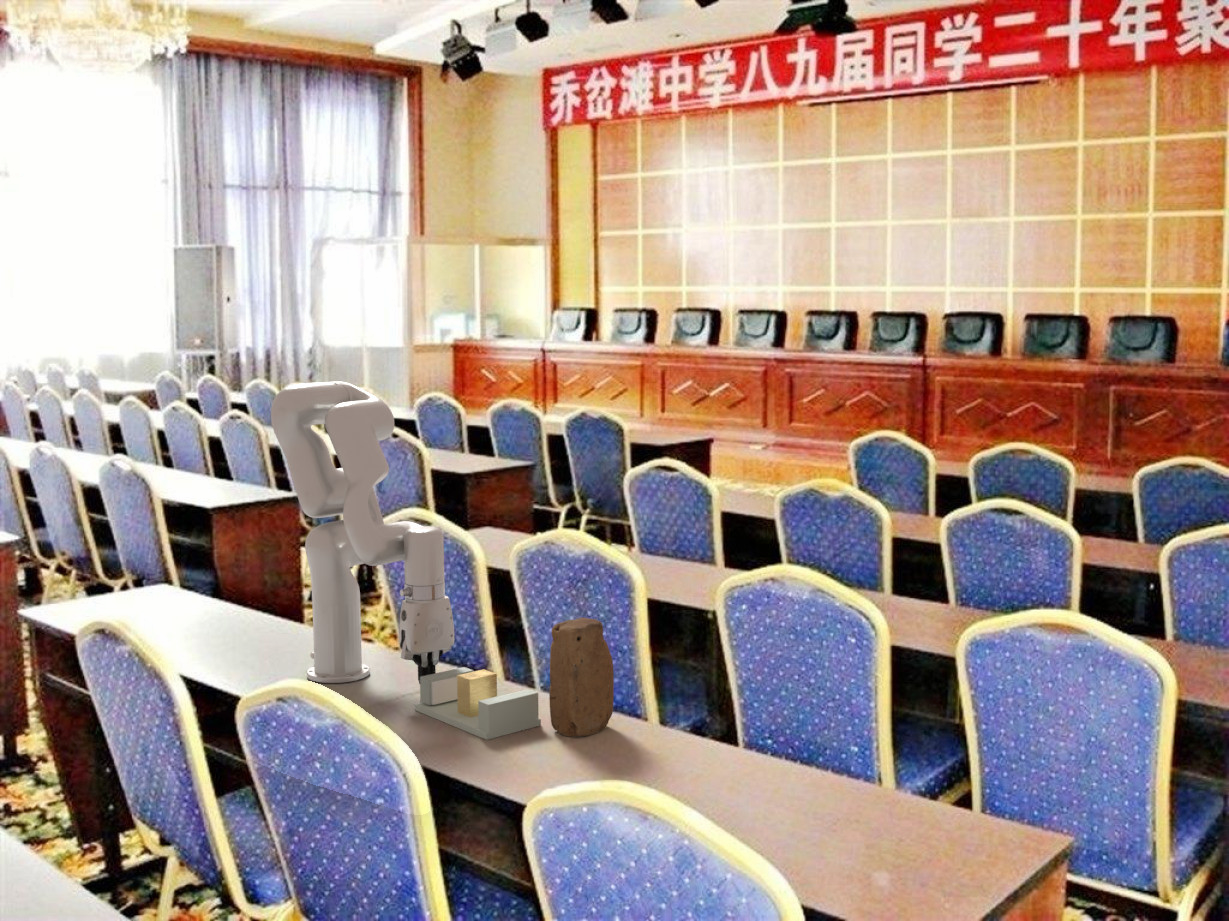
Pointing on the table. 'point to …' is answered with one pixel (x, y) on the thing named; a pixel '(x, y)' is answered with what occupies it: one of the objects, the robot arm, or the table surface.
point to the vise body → (490, 714)
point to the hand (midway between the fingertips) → (427, 684)
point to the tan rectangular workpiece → (475, 690)
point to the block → (580, 678)
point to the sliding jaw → (440, 686)
